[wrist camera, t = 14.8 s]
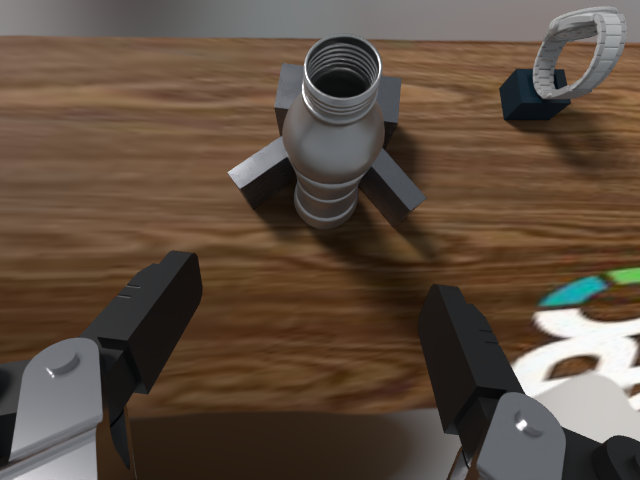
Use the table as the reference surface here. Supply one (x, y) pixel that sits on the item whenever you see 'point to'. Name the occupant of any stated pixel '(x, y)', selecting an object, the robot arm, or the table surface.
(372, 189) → the v block
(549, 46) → the watch
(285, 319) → the table surface
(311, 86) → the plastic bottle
